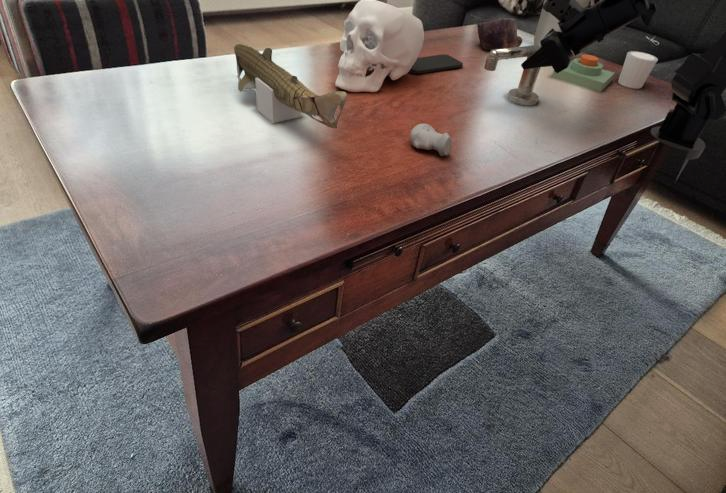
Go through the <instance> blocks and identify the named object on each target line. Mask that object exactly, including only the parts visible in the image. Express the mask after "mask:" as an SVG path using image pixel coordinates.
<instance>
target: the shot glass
mask: <svg viewBox="0 0 726 493" xmlns="http://www.w3.org/2000/svg"><path fill="white" fill-rule="evenodd" d="M658 60H659V58H658V57H656V56H655V55H653V54H650V53H647V52H644V51H636V50H630V51H628V52H626V56H625V60H624V62H623V64H622V68H621V72H620V75H619V77H618V80H617V82H618V84H620V86H621V85H622V86H623V87H626V88H629V89H634V90H635V89H637V90H639V89H642V88H643V86H644V84H645V83H646V81H647V79H648V77H649V76H650V74H651V73H652V71H653V69H654V67H655V66H656V64H657V62H659V61H658Z"/></svg>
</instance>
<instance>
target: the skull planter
mask: <svg viewBox="0 0 726 493" xmlns="http://www.w3.org/2000/svg"><path fill="white" fill-rule="evenodd" d="M424 40H425V31H424V26H423V21H422V20H421V19H420V18H418V17H417V16H415V15H414V14H411V13H410V12H407V11H405V10H403V9H401V8H399V7H396V6H394V5H392V4H389V3H386V2H383V1H379V0H359V1H358V2H357V3H356V4H355V6H354V7H353V9H352V10H351V11H350V12H349V14H348V16H347V18H345V20H344V22H343V35H342V37H341V40H340V42H339V50H340V51H341V52H343V53H342V54H341V56H340V59H339V61H338V64H337V67H338V69H339V70H338V72H339V73H338V74H337V77H336V79H335V83H334V85H335V87H336V88H337V87H338V88H339V89H341V90H344V91H347V92H350V93H361V92H363V93H364V92H367V93H368V92H369V93H376V92H378V91H379V90H381V88H382V86H383V83H384V80H385V78H386V77H389V78H390V80H392V81H396V80H399V79H400V78H402V76H403V77H404V76H405V75H407V74H409V72H410V69H411V67H412V66H413V64H414V63H415V61H416V60H417V58H419V56H420V54H421V51H422V50H423V45H424ZM367 71H369V72H371V71H372V73H370V74H369V75H367V76H366V74H367Z"/></svg>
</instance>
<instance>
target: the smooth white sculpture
mask: <svg viewBox="0 0 726 493" xmlns="http://www.w3.org/2000/svg"><path fill="white" fill-rule="evenodd" d="M409 140H410V143H411V145H412V146H413V147H414V148H416V149H421V150H426V151H430V150H433V149H434V150H435V151H437V152H438V154H439V156H440V157H444V156H448V155H450V153H451V150H452V144H453V141H452V139H451V137H450V135H449V133H448V132H444V133H439V132H437V131H436V129H434V127H432V126H431V125H430V124H428V123H418V124H416V125H415V126H414V127H413V128H412V129H411V131H410V133H409Z"/></svg>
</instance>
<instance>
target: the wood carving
mask: <svg viewBox="0 0 726 493" xmlns="http://www.w3.org/2000/svg"><path fill="white" fill-rule="evenodd" d="M233 50H234V55H235V60H236V74H237V81H238V83H237V90H238V91H239V93H241V92H246V90H255V99H256V111H257V112H258V113H260V114H261V115H262V116H264V117H265V118H266V119H267V120H269V122H271V123H272V124H275V123H280V122H284V121H289V120H294V119H298V118H302V117H303V115H306V116H307V117H309V118H311V119H313V120H314V121H316V122H318V123H320V124H322V125H324V126H326V127H327V128H331V129H337V128H338V122H339V119H340V117H341V114H342V112H343V109H344V107H345V105H346V102H347V99H348V94H347V92H346V91H345V90H344V91H342V90H339V91H338V90H337V91H332V92H328V93H325V94H323V95H318V94H316V93H315V92H314V91H312V90H310V89H309V88H308V87H307V86H306V85H305V84H304V83H303V82H301V81H300V80H299V79H298V76H296V75H293V74H291V73H290V72H289V71H287V70H285V69H284V68H283V67H281V66H280V65H278V64H277V63H276V62H275V61H273V49H272V48H270V47H265V48H264V50H263V51H262V53H261V52H260V51H259V50H258V49H255V48H253V47H251V46H248V45H245V44H241V43H238V44H235V45H234V47H233ZM243 72H244V75H243V76H242V77H241V75H242V73H243ZM338 108H339V111H338V114H337V115H336V117H335V114H336V111H337V109H338ZM316 117H319V118H320V119H318V118H316Z"/></svg>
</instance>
